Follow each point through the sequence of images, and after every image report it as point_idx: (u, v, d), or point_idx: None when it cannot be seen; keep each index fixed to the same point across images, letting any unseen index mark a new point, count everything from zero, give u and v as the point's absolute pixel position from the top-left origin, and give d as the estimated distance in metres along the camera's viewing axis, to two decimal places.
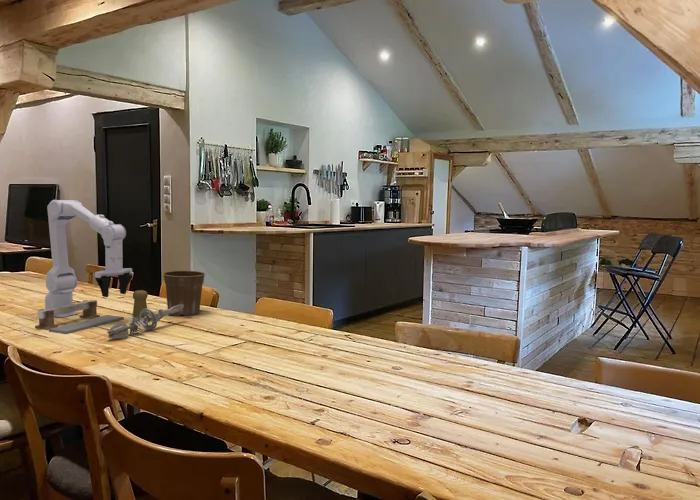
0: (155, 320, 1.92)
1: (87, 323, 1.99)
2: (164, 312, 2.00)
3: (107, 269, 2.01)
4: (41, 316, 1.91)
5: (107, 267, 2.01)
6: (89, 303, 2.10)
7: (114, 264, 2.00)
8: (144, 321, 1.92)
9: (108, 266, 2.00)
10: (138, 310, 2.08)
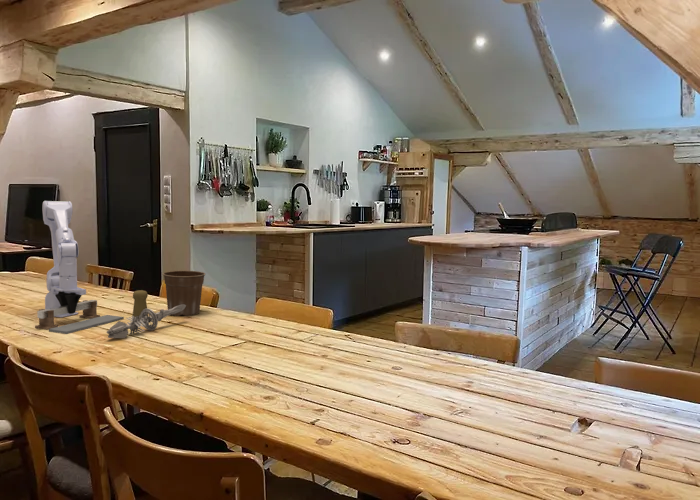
0: (156, 320, 1.92)
1: (87, 323, 1.99)
2: (165, 312, 1.99)
3: None
4: (41, 316, 1.91)
5: None
6: (89, 303, 2.10)
7: (59, 281, 2.00)
8: (145, 321, 1.91)
9: None
10: (138, 310, 2.08)
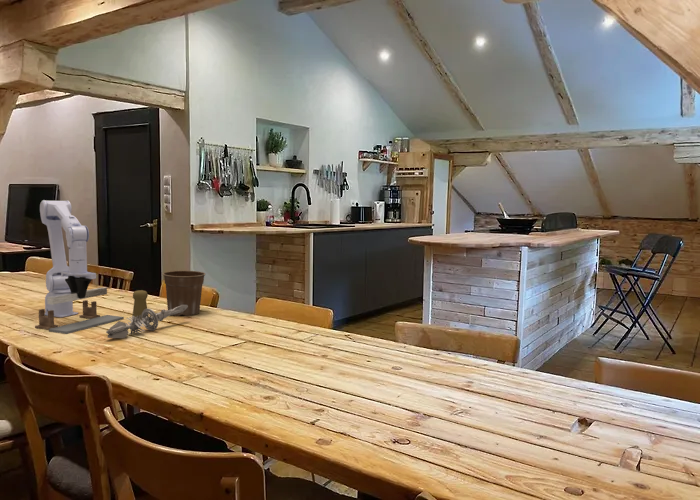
0: (156, 320, 1.92)
1: (87, 323, 1.99)
2: (166, 312, 1.99)
3: None
4: (51, 302, 1.89)
5: None
6: (99, 290, 2.08)
7: (69, 265, 1.98)
8: (145, 321, 1.91)
9: None
10: (138, 310, 2.08)
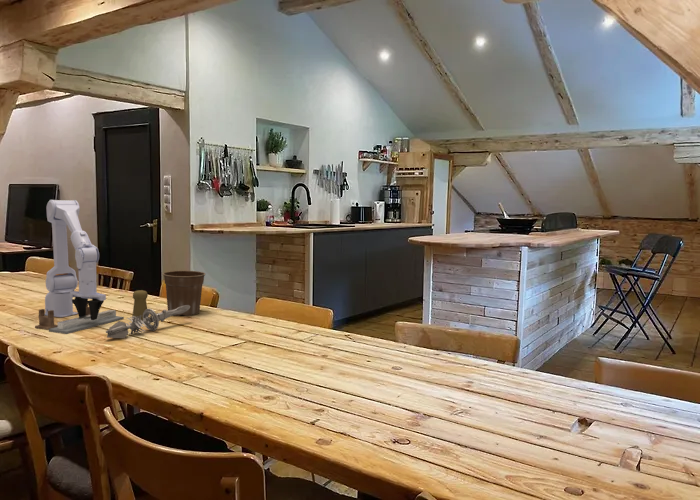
0: (157, 321, 1.91)
1: None
2: (168, 313, 1.99)
3: None
4: (61, 327, 1.89)
5: None
6: (108, 313, 2.07)
7: None
8: (146, 321, 1.91)
9: None
10: (138, 310, 2.08)
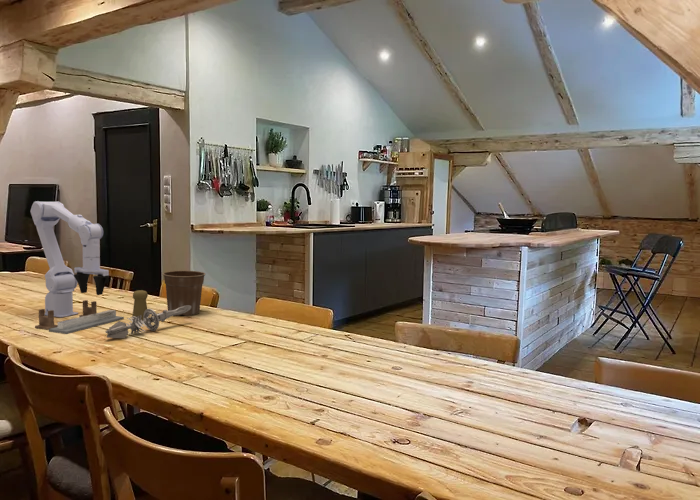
0: (157, 321, 1.91)
1: None
2: (168, 313, 1.98)
3: None
4: (61, 327, 1.89)
5: None
6: (108, 313, 2.07)
7: None
8: (146, 321, 1.91)
9: None
10: (138, 310, 2.08)
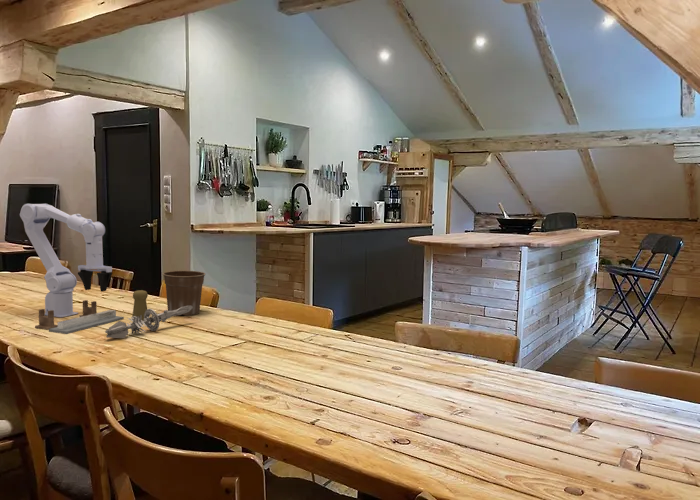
0: (157, 321, 1.91)
1: None
2: (169, 313, 1.98)
3: None
4: (61, 327, 1.89)
5: None
6: (108, 313, 2.07)
7: (86, 260, 2.08)
8: (146, 321, 1.91)
9: None
10: (138, 310, 2.08)
